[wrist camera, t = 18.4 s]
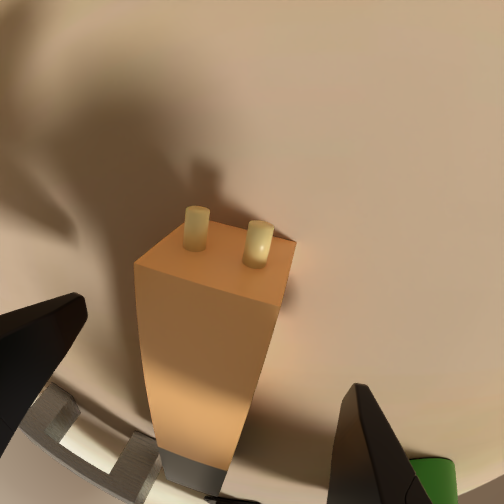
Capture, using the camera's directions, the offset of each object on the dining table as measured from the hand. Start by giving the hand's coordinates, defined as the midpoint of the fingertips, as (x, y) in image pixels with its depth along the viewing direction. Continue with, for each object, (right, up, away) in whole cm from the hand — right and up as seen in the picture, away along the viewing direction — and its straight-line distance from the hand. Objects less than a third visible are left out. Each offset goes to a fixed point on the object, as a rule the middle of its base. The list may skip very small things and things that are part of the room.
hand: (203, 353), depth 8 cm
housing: (-11, -11, +11) cm, 19 cm away
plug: (0, -3, +5) cm, 6 cm away
